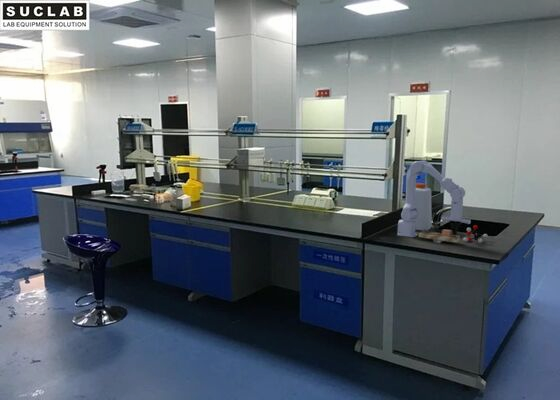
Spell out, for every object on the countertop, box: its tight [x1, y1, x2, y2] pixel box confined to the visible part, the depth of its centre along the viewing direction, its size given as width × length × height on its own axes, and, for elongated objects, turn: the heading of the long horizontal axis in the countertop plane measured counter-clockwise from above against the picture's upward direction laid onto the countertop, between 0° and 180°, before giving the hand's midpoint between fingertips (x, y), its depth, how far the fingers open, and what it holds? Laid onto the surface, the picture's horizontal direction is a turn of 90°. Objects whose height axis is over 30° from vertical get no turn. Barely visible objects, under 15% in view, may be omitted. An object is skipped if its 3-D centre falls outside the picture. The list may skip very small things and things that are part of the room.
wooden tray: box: [418, 230, 460, 244], centre depth 235 cm, size 20×7×5 cm, turn 53°
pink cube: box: [441, 229, 453, 237], centre depth 232 cm, size 4×4×4 cm
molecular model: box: [462, 224, 488, 244], centre depth 234 cm, size 16×8×10 cm, turn 126°
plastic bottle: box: [415, 182, 433, 232], centre depth 265 cm, size 15×15×28 cm
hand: (454, 235), depth 230 cm, fingers closed
